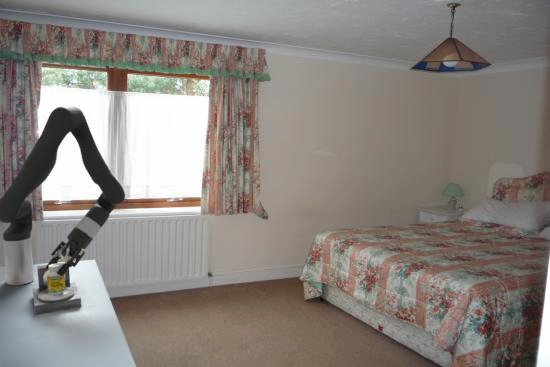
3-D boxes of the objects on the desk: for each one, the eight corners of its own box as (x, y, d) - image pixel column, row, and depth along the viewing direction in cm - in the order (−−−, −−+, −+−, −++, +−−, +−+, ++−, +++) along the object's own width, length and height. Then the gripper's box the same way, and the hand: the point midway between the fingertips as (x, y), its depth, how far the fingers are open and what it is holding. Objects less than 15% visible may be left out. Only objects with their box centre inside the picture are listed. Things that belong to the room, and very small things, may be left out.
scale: (33, 296, 168) (30, 267, 166) (75, 290, 174) (73, 261, 173) (35, 314, 153) (32, 282, 151) (81, 306, 160) (79, 275, 158)
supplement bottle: (64, 288, 165) (62, 261, 163) (66, 293, 160) (65, 265, 159) (47, 291, 162) (45, 264, 160) (49, 296, 157) (47, 268, 156)
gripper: (67, 223, 169) (35, 261, 162) (86, 230, 159) (54, 271, 152) (82, 235, 173) (52, 272, 166) (102, 242, 164) (71, 282, 157)
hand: (53, 272), depth 159 cm, fingers open, 8 cm apart
